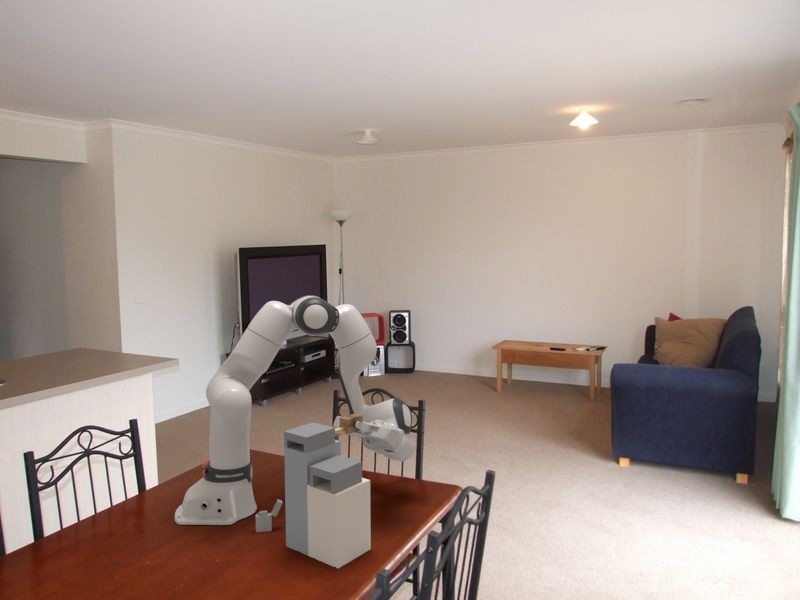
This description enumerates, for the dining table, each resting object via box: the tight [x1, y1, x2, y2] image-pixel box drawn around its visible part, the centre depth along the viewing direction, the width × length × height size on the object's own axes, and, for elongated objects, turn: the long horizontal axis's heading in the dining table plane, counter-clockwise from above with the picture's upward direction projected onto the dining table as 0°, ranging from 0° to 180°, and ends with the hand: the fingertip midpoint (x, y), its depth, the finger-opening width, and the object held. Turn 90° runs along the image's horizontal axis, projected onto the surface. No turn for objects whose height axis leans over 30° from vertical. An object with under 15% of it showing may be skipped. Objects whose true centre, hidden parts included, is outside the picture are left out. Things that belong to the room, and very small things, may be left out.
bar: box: [335, 414, 363, 438], centre depth 169 cm, size 17×3×4 cm, turn 142°
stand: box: [283, 422, 372, 569], centre depth 161 cm, size 12×18×30 cm, turn 52°
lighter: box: [255, 498, 283, 534], centre depth 172 cm, size 7×2×8 cm, turn 105°
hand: (349, 422), depth 173 cm, fingers closed on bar, 3 cm apart
